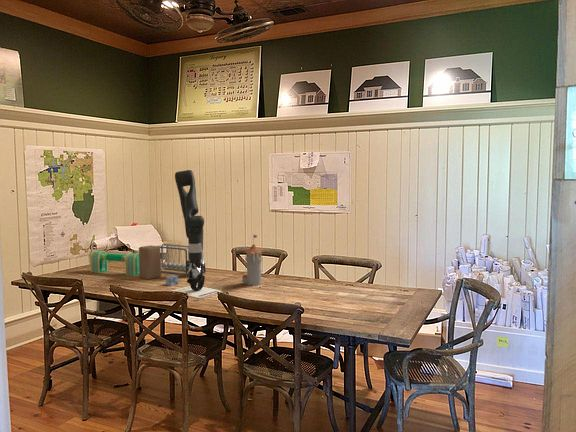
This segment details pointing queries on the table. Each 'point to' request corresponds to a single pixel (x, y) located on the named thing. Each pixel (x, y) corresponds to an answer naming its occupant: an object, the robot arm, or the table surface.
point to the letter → (200, 293)
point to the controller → (194, 282)
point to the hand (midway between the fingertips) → (195, 279)
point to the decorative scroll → (101, 264)
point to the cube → (172, 280)
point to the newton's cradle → (173, 261)
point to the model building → (253, 266)
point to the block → (149, 262)
